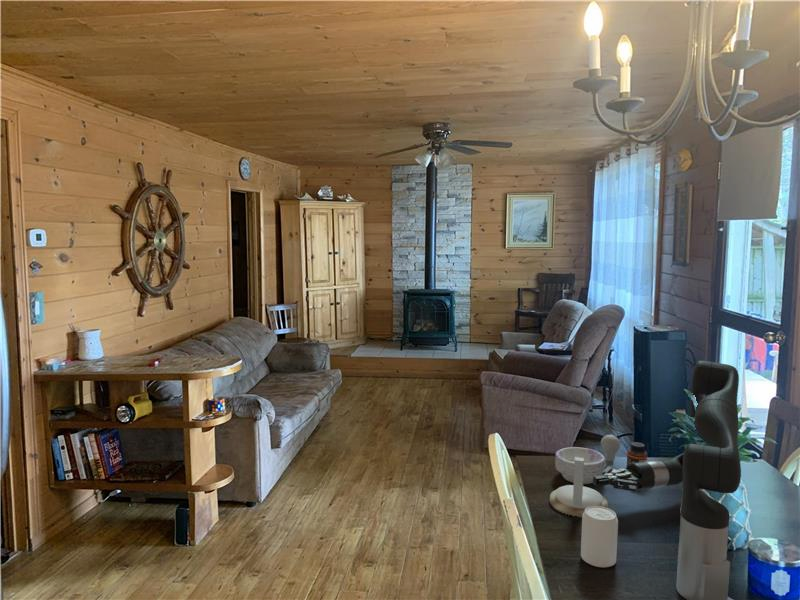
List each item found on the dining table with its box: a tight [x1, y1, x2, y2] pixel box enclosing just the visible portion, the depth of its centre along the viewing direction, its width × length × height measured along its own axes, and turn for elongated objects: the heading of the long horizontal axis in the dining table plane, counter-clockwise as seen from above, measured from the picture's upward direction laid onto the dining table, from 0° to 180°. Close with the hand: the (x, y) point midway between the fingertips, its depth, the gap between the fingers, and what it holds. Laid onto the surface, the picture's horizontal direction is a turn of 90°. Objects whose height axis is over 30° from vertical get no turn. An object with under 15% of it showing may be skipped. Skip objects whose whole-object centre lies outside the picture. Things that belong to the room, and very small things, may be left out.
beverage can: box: [580, 506, 619, 568], centre depth 139 cm, size 8×8×12 cm
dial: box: [555, 457, 603, 509], centre depth 167 cm, size 14×13×14 cm
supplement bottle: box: [626, 441, 648, 467], centre depth 186 cm, size 6×6×11 cm
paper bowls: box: [554, 446, 606, 485], centre depth 186 cm, size 15×15×8 cm
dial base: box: [549, 489, 609, 518], centre depth 169 cm, size 16×16×2 cm
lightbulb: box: [600, 434, 621, 467], centre depth 195 cm, size 6×6×11 cm
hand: (594, 481), depth 163 cm, fingers closed
